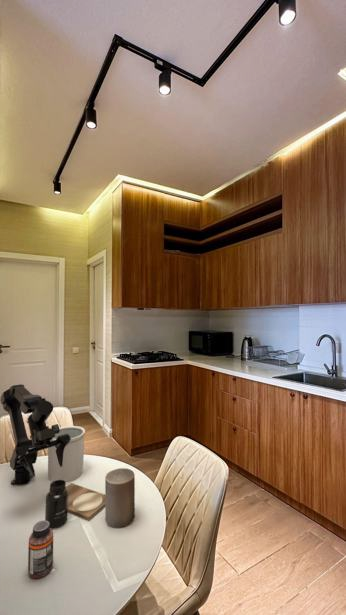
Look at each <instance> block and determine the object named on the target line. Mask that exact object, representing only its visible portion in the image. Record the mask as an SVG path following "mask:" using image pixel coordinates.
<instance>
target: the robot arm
mask: <svg viewBox="0 0 346 615" xmlns="http://www.w3.org/2000/svg"><path fill="white" fill-rule="evenodd" d="M0 404H1V405H2V407H3V411H6V412H7V413H8V415H9V420H10V425H11V429H12V435H13V438H14V444H15V446H14V449H13V451H12V454H11V457H10V459H9V467H10V469H12V471H14V478H13V480H12V481H11V482H10V485H11V486H12V485H15V486H18V485H19V486H20V485H27V484H29V483H30V482H31V481H32V479H33V478H34V477H35V476H36V472H35V469H34V465H33V464H36V462H37V459H38V453H39V451H42V450H46V449H48V448H50V447H53V446H55V447H56V448H57V449H56V450H55V451H56V455H57V459H58V462H59V465H60V467H62V464H63V453H64V448H65V447H66V446H67V444H68V443H69V442H70V440H71V438H70V435H68V434H64V435H61V436H58V438H57V439H56V440H54V441H51V442H50V440H52V439H53V437H55V434H57V433H59V432H60V430H59V428H60V426H59V423H56V424H52V425H51V428H49V425H47V422H46V421H47V420H49V417H50V415H51V414H52V412H53V410H54V405H53V403H52V402H51V401H49V400H46V398H45V397H44V398H43V397H42V395H39V394H32V393H31V392H30V391H29V389H27V388H26V387H25V385H24V384H22V383H21V384H20V383H19V384H14V385H12V386H10V387H9V389H6V390H5V391H4V392H2V394H1V396H0ZM28 414H29V415H28ZM23 415H28V417H27V420H26V423H27V425H28V428H29V433H30V435H29V437H28V434H27V429H26V426H25V421H24V417H23ZM29 438H30V439H29Z"/></svg>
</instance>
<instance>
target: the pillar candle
mask: <svg viewBox="0 0 346 615" xmlns="http://www.w3.org/2000/svg"><path fill="white" fill-rule="evenodd" d="M135 475H136V474H135V472H134V471H133V470H131V469H130V468H127V467H126V468H125V467H123V468H122V467H120V468H115V469H113V470H109V471H108V472H107V473H106V475H105V477H104V478H105V480H104V481H105V483H104V484H105V485H104V488H105V507H104V508H105V509H104V510H105V512H104V514H105V517H104V520H105V523H106V525H108V526H109V527H110V528H114V529H120V528H124V527H127V526H128V525H131V524H132V523H133V522H134V521H135V517H136V513H135V510H136V509H135V506H136V505H135V501H136V500H135V494H136V493H135V492H136V491H135V490H136V488H135V486H136V484H135V483H136V481H135V480H136V479H135Z"/></svg>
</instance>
